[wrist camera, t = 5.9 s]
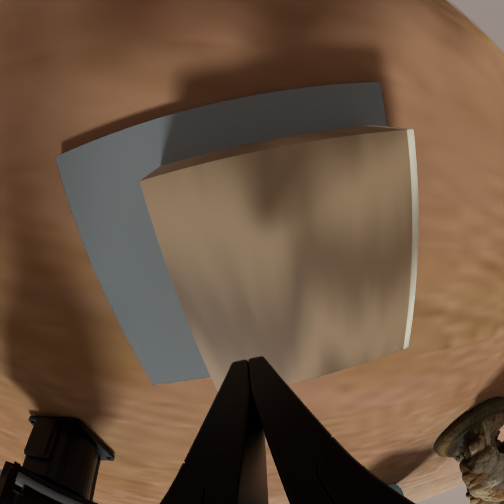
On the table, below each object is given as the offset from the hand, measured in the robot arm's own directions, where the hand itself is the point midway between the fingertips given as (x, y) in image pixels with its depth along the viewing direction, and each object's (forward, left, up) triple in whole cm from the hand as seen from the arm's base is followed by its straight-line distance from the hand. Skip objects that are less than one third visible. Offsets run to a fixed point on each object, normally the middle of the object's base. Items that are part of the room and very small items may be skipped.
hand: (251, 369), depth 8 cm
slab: (0, +2, -5) cm, 6 cm away
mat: (0, -1, -8) cm, 8 cm away
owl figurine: (-34, -26, -8) cm, 44 cm away
